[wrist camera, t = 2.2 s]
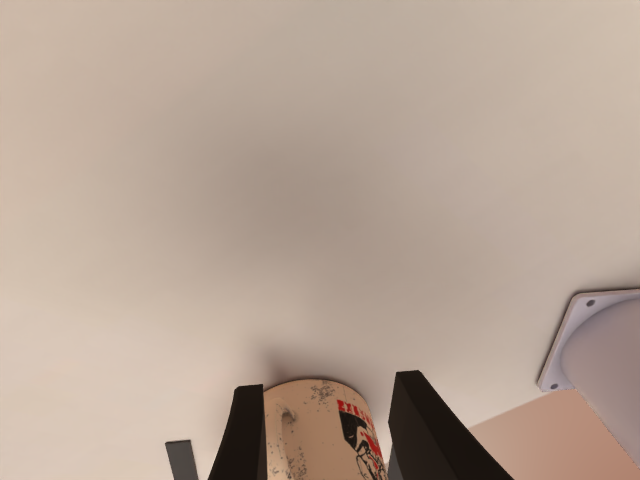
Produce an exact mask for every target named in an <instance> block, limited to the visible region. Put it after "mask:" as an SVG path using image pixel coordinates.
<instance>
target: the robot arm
mask: <svg viewBox="0 0 640 480" xmlns="http://www.w3.org/2000/svg"><path fill="white" fill-rule="evenodd" d="M537 386H538V388H539V389H540V391H543V392H547V391H557V390H567V389H576V390H577V391H578V392H579V394H580V395H581V396H582V397H583V399H584V400H585V401H586V403H587V404H588V405H589V406H590V408H591V409H592V410H593V411H594V413H595V414H596V415H597V416H598V418H599V419H600V420H601V421H602V423H603V424H604V425H605V426H606V428H607V429H608V430H609V432H610V433H611V434H612V435H613V437H614V438H615V439H616V440H617V442H618V443H619V444H620V445H621V447H622V448H623V449H624V450H625V452H626V453H627V454H628V456H629V457H630V458H631V459H632V461H633V462H634V463H635V464H636V466H637V467H638V468H639V469H640V289H633V290H619V291H605V292H591V293H580V294H577V295H575V296H574V297H573V298H572V300H571V302H570V305H569V307H568V310H567V312H566V314H565V317H564V319H563V322H562V324H561V327H560V329H559V332H558V334H557V337H556V339H555V341H554V344H553V346H552V349H551V351H550V354H549V356H548V359H547V361H546V364H545V366H544V369H543V371H542V373H541V376H540V378H539V381H538V383H537ZM388 424H389V428H390V433H391V437H392V442H393V446H394V450H395V454H396V459H397V462H398V465H399V468H400V471H401V474H402V477H403V480H514V479H513V478H512V477H511V476H510V475H509V474H508V473H507V472H506V471H505V470H504V469H503V468H502V467H501V466H500V465H499V463H498V462H496V460H495V459H494V458H493V457H492V456H491V455H490V454H489V453H488V452H487V451H486V450H485V449H484V448H483V446H482V445H481V444H480V443H479V442H478V441H477V440H476V438H475V437H474V436H473V435H472V434H471V433H470V432H469V430H468V429H467V428H466V427H465V426H464V425H463V424H462V422H461V421H460V420H459V419H458V418H457V417H456V415H455V414H454V413H453V412H452V411H451V409H450V408H449V407H448V406H447V404H446V403H445V402H444V401H443V400H442V398H441V397H440V396H439V395H438V393H437V392H436V391H435V389H434V388H433V387H432V386H431V384H430V383H429V382H428V380H427V379H426V378H425V377H424V375H423V374H422V373H421V372H420V371H419V370H414V371H403V372H396V377H395V383H394V389H393V395H392V401H391V408H390V414H389V420H388ZM208 480H268V473H267V446H266V426H265V410H264V394H263V384H259V385H248V386H239V387H237V388H236V389H235V390H234V396H233V402H232V406H231V411H230V415H229V418H228V422H227V425H226V429H225V432H224V435H223V438H222V441H221V444H220V447H219V450H218V453H217V456H216V458H215V461H214V464H213V467H212V470H211V472H210V475H209V477H208Z"/></svg>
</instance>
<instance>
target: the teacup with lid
mask: <svg viewBox="0 0 640 480" xmlns="http://www.w3.org/2000/svg"><path fill="white" fill-rule="evenodd" d="M263 394H264V410H265V426H266V446H267V473H268V480H389V479H388V476H387V473H386V469H385V465H384V461H383V458H382V454H381V450H380V447H379V443H378V439H377V436H376V432H375V428H374V425H373V421H372V418H371V414H370V410H369V408H368V406H367V404H366V402H365V401H364V399H363V398H362V397H361V396H360V395H359V394H358V393H357V392H355V391H354V390H353V389H351V388H349V387H347V386H345V385H343V384H340V383H337V382H333V381H328V380H320V379H306V380H297V381H292V382H288V383H284V384H281V385H278V386H276V387H273V388H271V389H269V390H267V391H265V392H263Z"/></svg>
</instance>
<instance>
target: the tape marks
mask: <svg viewBox="0 0 640 480" xmlns="http://www.w3.org/2000/svg"><path fill="white" fill-rule="evenodd" d="M165 445H166V449H167V453H168V457H169V461H170V465H171V469H172V473H173V476H174V480H198V476H197V472H196V467H195V462H194V457H193V452H192V448H191V443H190V441H180V442H171V443H165ZM387 476H388V479H389V480H403V477H402V474H401V471H400V468H399V465H398V462H397V459H396V454H395V450H394V446H393V445H392V451H391V456H390V462H389V468H388V474H387Z"/></svg>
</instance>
